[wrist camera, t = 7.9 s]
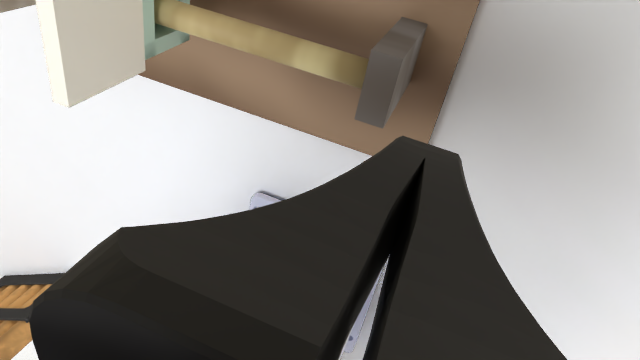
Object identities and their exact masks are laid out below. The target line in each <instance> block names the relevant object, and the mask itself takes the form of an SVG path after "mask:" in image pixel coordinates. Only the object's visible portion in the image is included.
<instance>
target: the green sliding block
mask: <svg viewBox="0 0 640 360" xmlns="http://www.w3.org/2000/svg"><path fill="white" fill-rule="evenodd" d="M35 1H36V7H37V13H38V18H39V24H40V30H41V36H42V41H43V47H44V53H45V59H46V65H47V70H48V76H49V82H50V88H51V93H52V99H53V102H55V103H57V104H60V105H63V106H65V107H68V108H70V107H72V106H74V105H76V104H78V103H80V102H82V101H84V100H86V99H88V98H90V97H93V96H95V95H97V94H99V93H101V92H103V91H105V90H107V89H109V88H111V87H113V86H115V85H117V84H119V83H121V82H123V81H125V80H127V79H130V78H132V77H134V76H136V75H138V74H140V73H142V72H144V71H146V70H145V60H147V59H149V58H151V57H153V56H156V55H158V54H160V53H162V52H164V51H166V50H169V49H171V48H173V47H175V46H177V45H180V44H182V43H184V42H186V41H188V40H189V35H190V34H187V33H184V32H181V31H178V30H175V29H172V28H168V27H165V26H162V25H159V24H156V23H155V21H154V0H35ZM177 1H180V2H183V3H187V4H190V0H177Z"/></svg>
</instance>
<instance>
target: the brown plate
mask: <svg viewBox="0 0 640 360" xmlns="http://www.w3.org/2000/svg"><path fill="white" fill-rule="evenodd" d="M479 2H480V0H190V4H187V3H183V2H180V1H177V0H154V21H155V23H156V24H159V25H162V26H165V27H168V28H172V29H175V30H178V31H181V32H184V33H187V34H190V35H189V40H188V41H186V42H184V43H182V44H180V45H177V46H175V47H173V48H171V49H169V50H166V51H164V52H162V53H160V54H158V55H156V56H153V57H151V58H149V59H147V60H145V70H146V71H144V72H142V73H140V74H138V75H140V76H143V77H146V78H149V79H152V80H155V81H158V82H161V83H164V84H166V85H169V86H172V87H175V88H178V89H181V90H184V91H187V92H190V93H192V94H195V95H198V96H201V97H204V98H207V99H210V100H213V101H215V102H218V103H221V104H224V105H227V106H230V107H233V108H236V109H239V110H241V111H244V112H247V113H250V114H253V115H256V116H259V117H262V118H265V119H267V120H270V121H273V122H276V123H279V124H282V125H285V126H288V127H291V128H293V129H296V130H299V131H302V132H305V133H308V134H311V135H314V136H316V137H319V138H322V139H325V140H328V141H331V142H334V143H337V144H340V145H342V146H345V147H348V148H351V149H354V150H357V151H360V152H363V153H366V154H368V155H371V156H374V155H375V154H377V153H378V152H379V151H381V150H382V149H384V148H385V147H386V146H388V145H389V144H390V143H391V142H393V141H394V140H395V139H396V138H398V137H400V136H406V137H409V138H412V139H414V140H417V141H420V142H423V143H426V144H428V143H429V140H430V137H431V134H432V131H433V129H434V126H435V123H436V120H437V118H438V115H439V112H440V109H441V107H442V104H443V101H444V98H445V96H446V93H447V90H448V87H449V84H450V82H451V79H452V76H453V73H454V71H455V68H456V65H457V62H458V60H459V57H460V54H461V51H462V49H463V46H464V43H465V40H466V37H467V35H468V32H469V29H470V26H471V24H472V21H473V18H474V15H475V13H476V10H477V7H478V4H479ZM35 4H36V1H35V0H0V13H2V12H6V11H10V10H14V9H18V8H22V7H27V6H31V5H35Z"/></svg>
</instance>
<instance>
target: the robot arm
mask: <svg viewBox="0 0 640 360" xmlns="http://www.w3.org/2000/svg"><path fill="white" fill-rule="evenodd" d="M257 207H259V208H257ZM389 255H390V256H389ZM388 257H389V260H388V264H387V268H386V272H385V276H384V280H383V284H382V288H381V292H380V297H379V301H378V305H377V309H376V313H375V317H374V321H373V325H372V329H371V333H370V337H369V341H368V344H367V347H366V351H365V354H364V357H363V360H567V359H566V358H565V356H564V355H563V354H562V353H561V352H560V351H559V349H558V348H557V347H556V346H555V344H554V343H553V342H552V341H551V339H550V338H549V337H548V336H547V334H546V333H545V332H544V331H543V329H542V328H541V327H540V325H539V324H538V322H537V321H536V320H535V318H534V317H533V316H532V314H531V313H530V311H529V310H528V309H527V307H526V306H525V304H524V303H523V302H522V300H521V299H520V297H519V296H518V294H517V293H516V291H515V290H514V288H513V287H512V285H511V284H510V282H509V280H508V279H507V277H506V275H505V273H504V272H503V270H502V268H501V267H500V265H499V263H498V261H497V260H496V258H495V256H494V254H493V252H492V250H491V248H490V245H489V243H488V241H487V239H486V237H485V234H484V232H483V230H482V227H481V225H480V222H479V220H478V217H477V215H476V212H475V209H474V206H473V203H472V201H471V198H470V194H469V191H468V188H467V184H466V181H465V177H464V172H463V167H462V161H461V159H460V157H459V154H456V153H453V152H450V151H447V150H444V149H441V148H438V147H435V146H432V145H429V144H426V143H423V142H420V141H417V140H414V139H412V138H409V137H406V136H400V137H398V138H396V139H395V140H394V141H393V142H391V143H390V144H389V145H388V146H386V147H385V148H384V149H382V150H381V151H379V152H378V153H377V154H375V155H374V156H372V157H371V158H369V159H368V160H366V161H364V162H363V163H361V164H360V165H358V166H356V167H355V168H353V169H351V170H350V171H348V172H346V173H344V174H342V175H340V176H338V177H337V178H335V179H333V180H331V181H329V182H327V183H325V184H323V185H321V186H319V187H316V188H314V189H312V190H310V191H307V192H305V193H302V194H300V195H297V196H295V197H292V198H289V199H287V200H283V201H281V200H279V199H276V198H273V197H271V196H268V195H265V194H263V193H256V194H254V195H253V196H252V198H251V201H250V210H248V211H243V212H239V213H234V214H229V215H224V216H219V217H213V218H207V219H201V220H194V221H187V222H178V223H168V224H157V225H147V226H136V227H121V228H120V229H119V230H117V231H116V232H115V233H113V234H112V235H111V236H109V237H108V238H107V239H105V240H104V241H102V242H101V243H100V244H98V245H97V246H96V247H95V248H93V249H92V250H91V251H90V252H89V253H88V254H87V255H86V256H84V257H83V258H82V259H81V260H80V261H79V262H78V263H76V264H75V265H74V266H73V267H72V268H71V269H69V270H68V271H67V272H66V273H65V274H64V275H62V276H61V277H60V278H59V279H58V280H57V281H56V282H54V283H53V284H52V285H51V286H50V287H49V288H47V289H46V290H45V291H44V292H43V293H42V294H41V295H39V296H38V297H37V298H36V299H35V300H34V301H33V303H32V307H31V310H30V314H29V324H30V330H31V336H32V340H33V343H34V346H35V349H36V352H37V355H38V358H39V360H340V359H341V357H342V354H343V352H352V351H353V350H354V347H355V344H356V341H357V339H358V336H359V333H360V330H361V328H362V325H363V322H364V319H365V317H366V314H367V311H368V308H369V306H370V303H371V300H372V297H373V294H374V292H375V289H376V286H377V283H378V281H379V278H380V275H381V272H382V270H383V267H384V264H385V263H386V261H387V259H388Z"/></svg>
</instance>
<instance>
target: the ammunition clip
mask: <svg viewBox="0 0 640 360" xmlns="http://www.w3.org/2000/svg"><path fill="white" fill-rule="evenodd" d="M64 274H65V273H59V274H35V275H11V276H4V277H3V278H1V279H0V360H11V359H12V358H13V357H14V356H15V355H16V354H17V353H18V352H20V351H21V350H22V349H23V348H24V347H25V346H26V345H27V344H28V343H29V342H31V341H32V336H31V330H30V324H29V314H30V310H31V307H32V303H33V301H34V300H35V299H36V298H37V297H38V296H39V295H41V294H42V293H43V292H44V291H45V290H46V289H47V288H49V287H50V286H51V285H52V284H53V283H54V282H56V281H57V280H58V279H59V278H60V277H61V276H62V275H64Z"/></svg>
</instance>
